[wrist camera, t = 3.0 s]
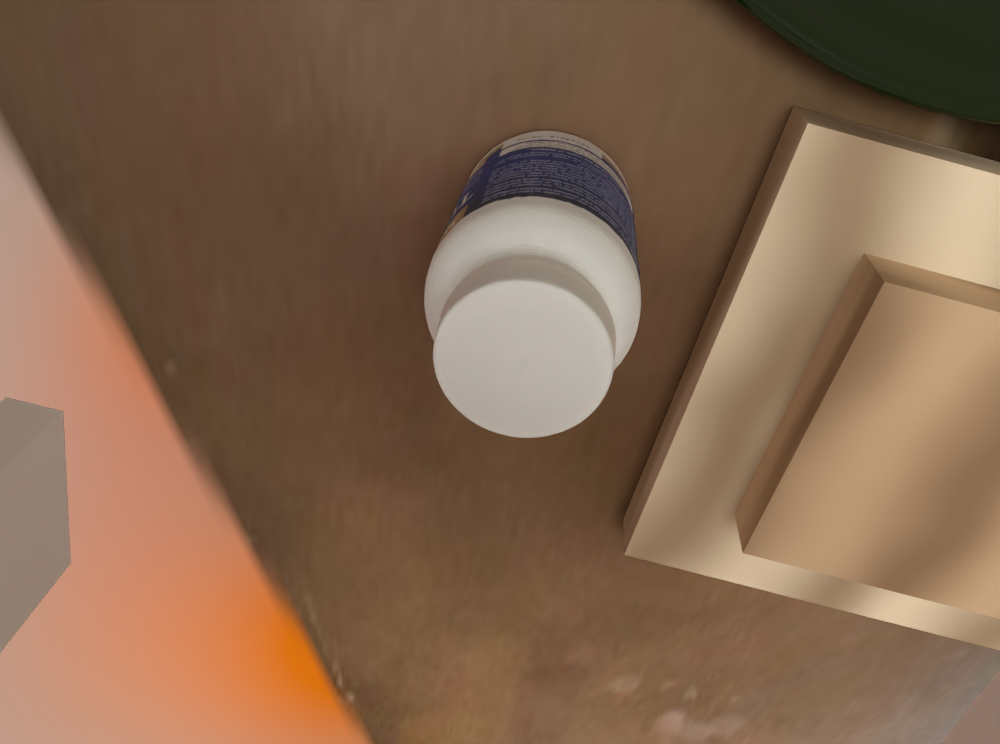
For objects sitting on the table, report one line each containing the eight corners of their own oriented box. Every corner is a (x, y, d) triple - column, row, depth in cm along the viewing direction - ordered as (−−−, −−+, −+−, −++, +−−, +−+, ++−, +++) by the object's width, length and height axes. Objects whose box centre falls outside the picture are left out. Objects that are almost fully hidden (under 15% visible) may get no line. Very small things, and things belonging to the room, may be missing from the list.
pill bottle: (457, 127, 26) (387, 246, 17) (636, 125, 25) (653, 248, 17) (466, 290, 28) (410, 461, 20) (628, 292, 28) (640, 469, 19)
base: (622, 518, 33) (625, 594, 29) (793, 105, 24) (824, 143, 21) (1019, 620, 33) (1068, 706, 30) (1316, 248, 25) (1431, 308, 21)
